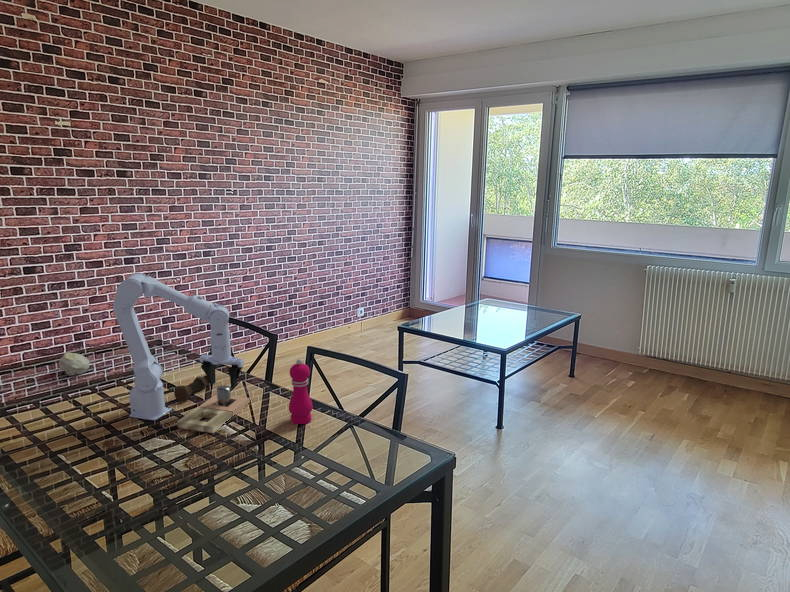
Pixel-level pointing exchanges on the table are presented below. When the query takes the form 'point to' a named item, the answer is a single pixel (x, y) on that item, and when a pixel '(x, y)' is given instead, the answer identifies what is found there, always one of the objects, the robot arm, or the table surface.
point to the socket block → (235, 406)
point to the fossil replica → (73, 363)
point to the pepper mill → (300, 394)
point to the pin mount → (211, 426)
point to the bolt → (190, 388)
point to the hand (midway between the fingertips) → (223, 385)
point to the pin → (223, 396)
